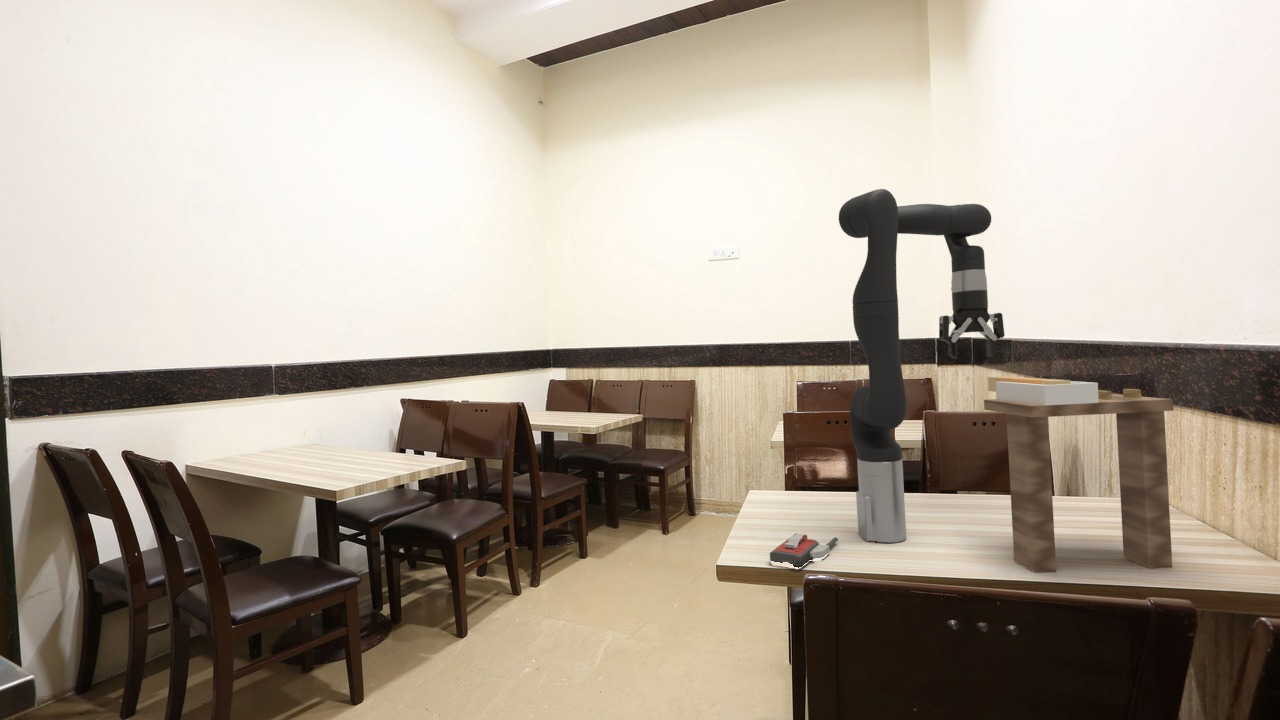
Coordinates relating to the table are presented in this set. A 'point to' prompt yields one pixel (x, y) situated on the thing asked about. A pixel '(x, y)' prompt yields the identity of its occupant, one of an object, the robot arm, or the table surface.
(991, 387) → the tan wooden bar
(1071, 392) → the tray
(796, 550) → the walkie-talkie
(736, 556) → the table surface
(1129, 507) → the shelf
